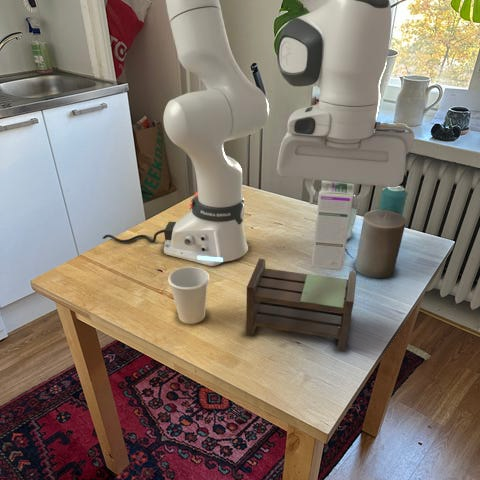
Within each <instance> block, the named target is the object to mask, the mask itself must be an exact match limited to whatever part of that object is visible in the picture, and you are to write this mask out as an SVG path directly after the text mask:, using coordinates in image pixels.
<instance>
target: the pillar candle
mask: <svg viewBox="0 0 480 480" xmlns="http://www.w3.org/2000/svg"><path fill="white" fill-rule="evenodd" d="M406 223H407V220H406V218H405V217H404V216H403V214H402V215H401V214H399V213H396V212H393V211H387V210H378V209H374V210H369V211H368V212H365V214H364V215H363V220H362V224H361V225H362V226H361V231H360V237H359V241H358V247H357V252H356V258H355V264H354V266H355V271H357V273H359V274H360V275H362V276H364V277H366V278H367V277H368V278H371V279H386V278H389V277H391V276H392V275H394V273H395V267H396V264H397V260H398V256H399V252H400V248H401V244H402V240H403V236H404V232H405V228H406Z"/></svg>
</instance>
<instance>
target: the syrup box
mask: <svg viewBox="0 0 480 480" xmlns="http://www.w3.org/2000/svg"><path fill="white" fill-rule="evenodd" d="M354 188H355V184H353V183H342V182H332V181H321V183H320V186H319V191H318V192H319V198H318V205H317V208H316V217H315V225H314V233H313V243H312V254H311V263H310V266H311V268H317V269H325V270H332V271H342V269H343V266H344V265H343V264H344V258H345V253H346V248H347V241H348V239H347V236H348V230H349V223H350V216H351V208H352V201H353V195H354V190H355V189H354Z"/></svg>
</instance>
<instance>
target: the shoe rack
mask: <svg viewBox="0 0 480 480" xmlns="http://www.w3.org/2000/svg"><path fill="white" fill-rule="evenodd" d="M266 261H267V260H266V259H264V258H258V260H257V262H256V265H255V267H254V269H253V272H252V273H251V276H250V278H249V281H248V283H247V285H246V310H245V311H246V313H245V315H246V317H245V318H246V319H245V320H246V321H245V336H248V337H254V334H255V331H256V328H257V327H263V328H269V329H274V330H282V331H288V332H294V333H301V334H307V335H311V336H312V335H314V336H319V337H325V338H332V339H338V341H337V349H336V350H337V351H339V352H345V350H346V346H347V345H346V344H347V340H348V335H349V330H350V324H351V319H352V315H353V308H354V303H355V296H356V295H355V294H356V284H357V275H358V271H357V270H349V273H348V279H347V278H344V277H343V278H342V277H336V276H335V277H334V276H328V275H319V274H312V273H303V272H294V271H288V270H287V271H286V270H281V269H273V268H266Z"/></svg>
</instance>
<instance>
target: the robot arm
mask: <svg viewBox="0 0 480 480" xmlns="http://www.w3.org/2000/svg"><path fill="white" fill-rule="evenodd" d="M297 2H300V3H301V4H302V5H303V6H304V8H305V9H306V10H307V11H308V13H306V14H303V15H300V16H298V17H293V18H291V19H289V21H288V22H287V23H286V25H285V26H284V27H283V29H282V31H281V33H280V35H279V39H278V42H277V49H276V57H277V58H276V60H277V65H278V69H279V72H280V74H281V76H282V77H283V79H284V80H285V81H286V82H287V84H289V85H291V86H292V87H297V88H305V89H306V88H314V87H317V88H319V90H320V92H319V98H318V103H317V104H313V105H309V106H306V107H302V108H298V109H296V110H294V111H293V112H292V113H291V114H290V116H289V117H288V120H287V125H286V126H287V127H286V128H287V132H286V133H285V134H284V136H283V138H282V141H281V143H280V147H279V150H278V151H279V152H278V156H277V158H278V159H277V165H276V171H277V173H278V174H279V176H280V177H282V178H291V179H301V180H304V187H305V188H306V190H307V193H308V194H309V205H315V206H316V205H317V206H318V198H319V191H316V189H315V187H314V183H315V181H321V182H322V181H332V182H342V183H353V184H354V185H361V188H360V189H361V191H360V192H359V193H358V195H355V194H353V201H352V209H358V210H360V209H361V204H362V201H363V200H364V199H365V198H366V197H367V195H368V194H369V193H370V192H371V186H373V187H374V186H375V187H384V188H386V187H397V186H399V185H400V184H401V183H402V182H403V177H404V174H405V170H406V160H407V159H406V157H407V155H408V154H409V153H410V152H411V150H412V148H413V144H414V140H415V133H414V131H413V130H412V129H411V128H410V127H409V126H407V124H404V123H390V122H382V121H377V117H378V112H379V106H380V101H381V93H380V84H381V80H382V77H383V74H384V72H385V69H386V65H387V61H388V56H389V49H390V41H391V33H392V6H391V2H390V0H297ZM165 5H166V11H167V16H168V20H169V25H170V28H171V34H172V37H173V42H174V45H175V49H176V53H177V58H178V61H179V63H180V65H181V66H182V67H183V68H184V69H185V70H186V71H187V72H189V73H192V74H194V75H195V76H196V77H198V78H199V79H200V80H201V81H202V83H203V84H204V86H205V87H206V89H204V90H196V91H191V92H186V93H184V94H182V95H179V96H177V97H174V98H173V99H170V100H168V102H167V104H166V105H165V108H164V112H163V118H162V119H163V127H164V131H165V133H166V135H167V137H168V138H169V140H170V141H171V142H172V144H174V145H175V146H176V147H178V148H180V149H181V150H182V151H184V152H185V154H187V156H188V158H190V161H191V163H192V165H193V169H194V172H195V178H196V187H197V188H196V189H197V191H196V192H195V194H194V195H193V198H192V199H191V201H190V203H189V205H188V207H189V210H190V211H188V212H186V214H184V215H182V216H181V217H180V218H179V219H177V221H168V222H167V224H166V226H165V228H164V229H161V230H158V231H156V232H155V233H154V234H153V239H151V238H150V237H149V236H148V235H146V234H137V235H135V236H133V237H131V238H128V239H120V238H117V237H116V236H114V235H112V234H105V235H104V236H103V237H102V240H105V239H107V238H110V239H112V240H114V241H115V242H119V243H130V242H133V241H135V240H137V239H140V238H144V239H146V240H147V241H148V242H150V243H155V242H156V241H157V236H158V235H160V234H163V233H164V240H165V242H164V245H163V252H164V255H167V256H169V257H170V256H171V257H175V258H178V259H182V260H185V261H188V262H189V261H190V262H194V263H197V264H202V265H205V266H210V267H216V266H218V265H220V264H222V263H226V262H232V261H235V260H238V259H240V258H242V257H244V256H245V255H246V254H247V252H248V251H249V245H248V243H247V238H246V234H245V227H244V219H245V199H244V196H243V169H242V167H241V165H240V164H239V162H238V161H237V160H236V159H234V158H233V157H230V156H228V155H227V154H226V153H225V150H224V144H225V142H228V141H233V140H238V139H242V138H246V137H248V136H251V135H253V134H255V133H257V132H259V131H260V130H262V129H263V128H264V127H265V126H266V125H267V123H268V119H269V113H270V108H269V102H268V99H267V96H266V95H265V93H264V92H263V90H261V88H259V87H258V86H256V85H255V84H254V83H252V82H251V81H250V80H249V79H248V78H247V76H246V75H245V74H244V73H243V70H241V68H240V66H239V64H238V63H237V61H236V59H235V57H234V55H233V52H232V49H231V46H230V42H229V39H228V35H227V30H226V26H225V21H224V18H223V12H222V7H221V4H220V0H165Z"/></svg>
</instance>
